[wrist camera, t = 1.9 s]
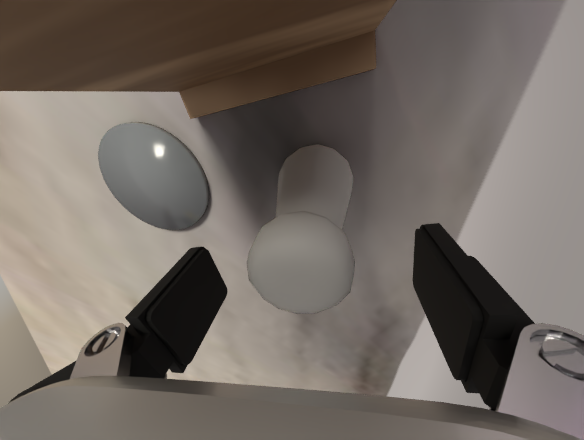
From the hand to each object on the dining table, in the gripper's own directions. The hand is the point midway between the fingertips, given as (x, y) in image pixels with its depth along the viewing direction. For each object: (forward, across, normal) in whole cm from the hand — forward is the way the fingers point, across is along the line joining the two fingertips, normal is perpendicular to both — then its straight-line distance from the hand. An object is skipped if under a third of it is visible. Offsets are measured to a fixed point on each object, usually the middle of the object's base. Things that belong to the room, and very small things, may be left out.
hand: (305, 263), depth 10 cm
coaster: (+11, +16, -3) cm, 20 cm away
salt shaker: (+11, 0, -1) cm, 11 cm away
